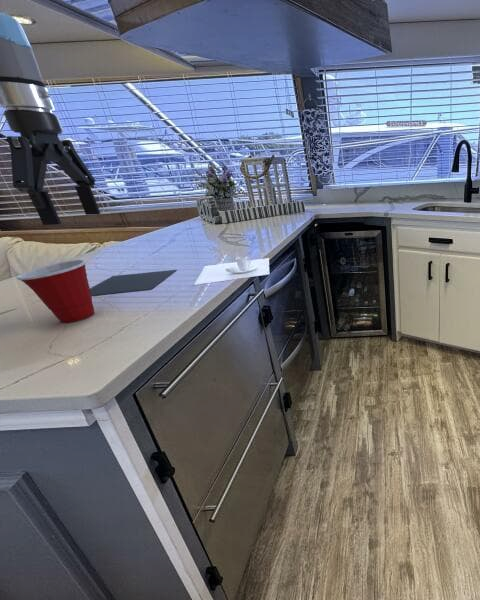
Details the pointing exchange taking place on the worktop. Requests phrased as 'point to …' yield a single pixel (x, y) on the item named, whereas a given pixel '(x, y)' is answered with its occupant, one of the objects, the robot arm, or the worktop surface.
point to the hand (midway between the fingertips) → (74, 219)
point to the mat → (130, 282)
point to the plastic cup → (62, 289)
